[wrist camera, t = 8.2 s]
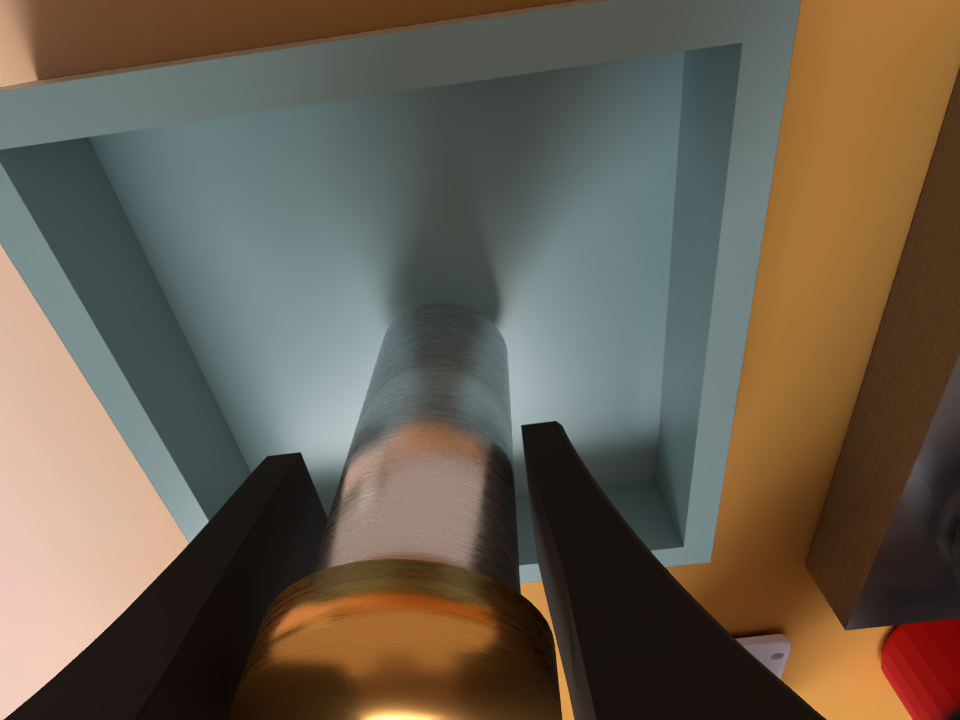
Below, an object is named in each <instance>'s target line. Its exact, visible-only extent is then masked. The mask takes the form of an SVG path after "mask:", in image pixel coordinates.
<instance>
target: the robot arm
mask: <svg viewBox="0 0 960 720" xmlns="http://www.w3.org/2000/svg"><path fill="white" fill-rule="evenodd" d="M521 431H522V440H523V449H524V458H525V467H526V476H527V485H528V494H529V504H530V511H531V518H532V525H533V533H534V540H535V547H536V554H537V561H538V565H539V569H540V573H541V577H542V582H543V586H544V590H545V594H546V598H547V602H548V607H549V611H550V615H551V619H552V623H553V627H554V631H555V636H556V640H557V644H558V648H559V652H560V656H561V660H562V665H563V669H564V673H565V677H566V681H567V685H568V690H569V695H570V699H571V704H572V709H573V714H574V719H575V720H826V719H825V718H824V717H823V716H821V715H820V714H819V713H818V712H817V711H815V710H814V709H813V708H812V707H811V706H810V705H809V704H808V703H806V702H805V701H804V700H803V699H802V698H801V697H800V696H798V695H797V694H796V693H795V692H794V691H793V690H792V689H791V688H789V687H788V686H787V685H786V684H785V683H784V682H783V681H781V677H782V674H783V671H784V668H785V665H786V662H787V659H788V656H789V653H790V650H791V643H790V641H789V640H788V638H787V637H786V636H785V635H782V634H773V635H763V636H754V637H745V638H734V637H733V636H732V635H731V634H729V633H728V632H727V631H726V630H725V629H724V628H723V627H722V626H721V625H720V624H719V623H718V622H717V621H716V620H715V619H714V618H713V617H712V616H711V615H710V614H709V613H708V612H707V611H706V610H705V609H704V608H703V607H702V606H701V605H700V604H699V603H698V602H697V601H696V600H695V599H694V598H693V597H692V596H691V595H690V594H689V593H688V592H687V591H686V590H685V589H684V588H683V587H682V585H681V584H680V583H679V582H678V581H677V580H676V579H675V578H674V577H673V576H672V575H671V574H670V573H669V571H668V570H667V569H666V568H665V567H664V566H663V565H662V564H661V562H660V561H659V560H658V559H657V558H656V557H655V556H654V554H653V553H652V552H651V551H650V550H649V549H648V547H647V546H646V545H645V544H644V543H643V542H642V540H641V539H640V538H639V537H638V536H637V535H636V533H635V532H634V531H633V530H632V528H631V527H630V526H629V525H628V523H627V522H626V521H625V520H624V518H623V517H622V516H621V515H620V513H619V512H618V511H617V509H616V508H615V507H614V505H613V504H612V503H611V501H610V500H609V499H608V497H607V496H606V495H605V493H604V492H603V491H602V489H601V488H600V486H599V485H598V484H597V482H596V481H595V479H594V478H593V476H592V475H591V474H590V472H589V470H588V469H587V467H586V466H585V464H584V463H583V461H582V460H581V458H580V457H579V455H578V453H577V452H576V450H575V448H574V447H573V445H572V443H571V441H570V440H569V438H568V436H567V434H566V432H565V430H564V428H563V426H562V425H561V424H560V423H558V422H557V421H551V422H543V423H534V424H526V425H521ZM327 520H328V518H327V516H326V513H325V511H324V508H323V506H322V503H321V501H320V498H319V496H318V494H317V491H316V489H315V486H314V484H313V481H312V479H311V476H310V474H309V471H308V469H307V466H306V464H305V461H304V459H303V457H302V454H301V452H297V453H289V454H280V455H272V456H267V457H266V458H265V459H264V460H263V461H262V462H261V463H260V464H259V465H258V466H257V467H256V469H255V470H254V471H253V472H252V473H251V474H250V475H249V476H248V478H247V479H246V480H245V481H244V482H243V483H242V484H241V486H240V487H239V488H238V489H237V490H236V491H235V492H234V494H233V495H232V496H231V497H230V498H229V499H228V501H227V502H226V503H225V504H224V505H223V506H222V507H221V509H220V510H219V511H218V512H217V513H216V514H215V515H214V516H213V518H212V519H211V520H210V521H209V522H208V523H207V524H206V525H205V527H204V528H203V529H202V530H201V531H200V532H199V533H198V534H197V535H196V537H195V538H194V539H193V540H192V541H191V542H190V543H189V544H188V546H187V547H186V548H185V549H184V550H183V551H182V552H181V553H180V554H179V555H178V557H177V558H176V559H175V560H174V561H173V562H172V563H171V564H170V565H169V566H168V567H167V568H166V569H165V570H164V571H163V572H162V573H161V574H160V575H159V576H158V577H157V578H156V579H155V580H154V581H153V583H152V584H151V585H150V586H149V587H148V588H147V589H146V590H145V591H144V592H143V593H142V594H141V595H140V596H139V597H138V598H137V599H136V600H135V601H134V602H133V603H132V604H131V605H130V606H129V607H128V608H127V609H126V610H125V612H124V613H122V614H121V615H120V616H119V617H118V618H117V619H116V620H115V621H114V622H113V623H112V624H111V625H110V626H109V627H108V628H107V629H106V630H105V631H104V632H103V633H102V634H101V635H100V636H99V637H98V638H97V639H95V640H94V641H93V642H92V643H91V644H90V645H89V646H88V647H87V648H86V649H85V650H84V651H82V652H81V653H80V654H79V655H78V656H77V657H76V658H75V659H74V660H73V661H71V662H70V663H69V664H68V665H67V666H66V667H65V668H64V669H63V670H62V671H60V672H59V673H58V674H57V675H56V676H55V677H54V678H53V679H52V680H50V681H49V682H48V683H47V684H46V685H45V686H44V687H42V688H41V689H40V690H39V691H38V692H37V693H35V694H34V695H33V696H32V697H31V698H29V699H28V700H27V701H26V702H25V703H23V704H22V705H21V706H20V707H19V708H17V709H16V710H15V711H14V712H12V713H11V714H10V715H9V716H8V717H6V718H5V719H4V720H230V711H231V706H232V702H233V699H234V697H235V694H236V691H237V688H238V686H239V683H240V680H241V677H242V675H243V672H244V669H245V666H246V664H247V661H248V658H249V655H250V653H251V650H252V647H253V644H254V641H255V639H256V636H257V633H258V630H259V628H260V625H261V622H262V619H263V617H264V615H265V613H266V611H267V609H268V607H269V606H270V604H271V603H272V602H273V601H274V599H275V598H276V597H277V596H278V595H279V594H280V593H282V592H283V591H284V590H285V589H286V588H287V587H289V586H291V585H292V584H294V583H295V582H297V581H299V580H300V579H302V578H304V577H307V576H309V575H311V572H312V569H313V566H314V562H315V559H316V556H317V553H318V549H319V546H320V543H321V540H322V536H323V533H324V530H325V527H326V523H327Z"/></svg>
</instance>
